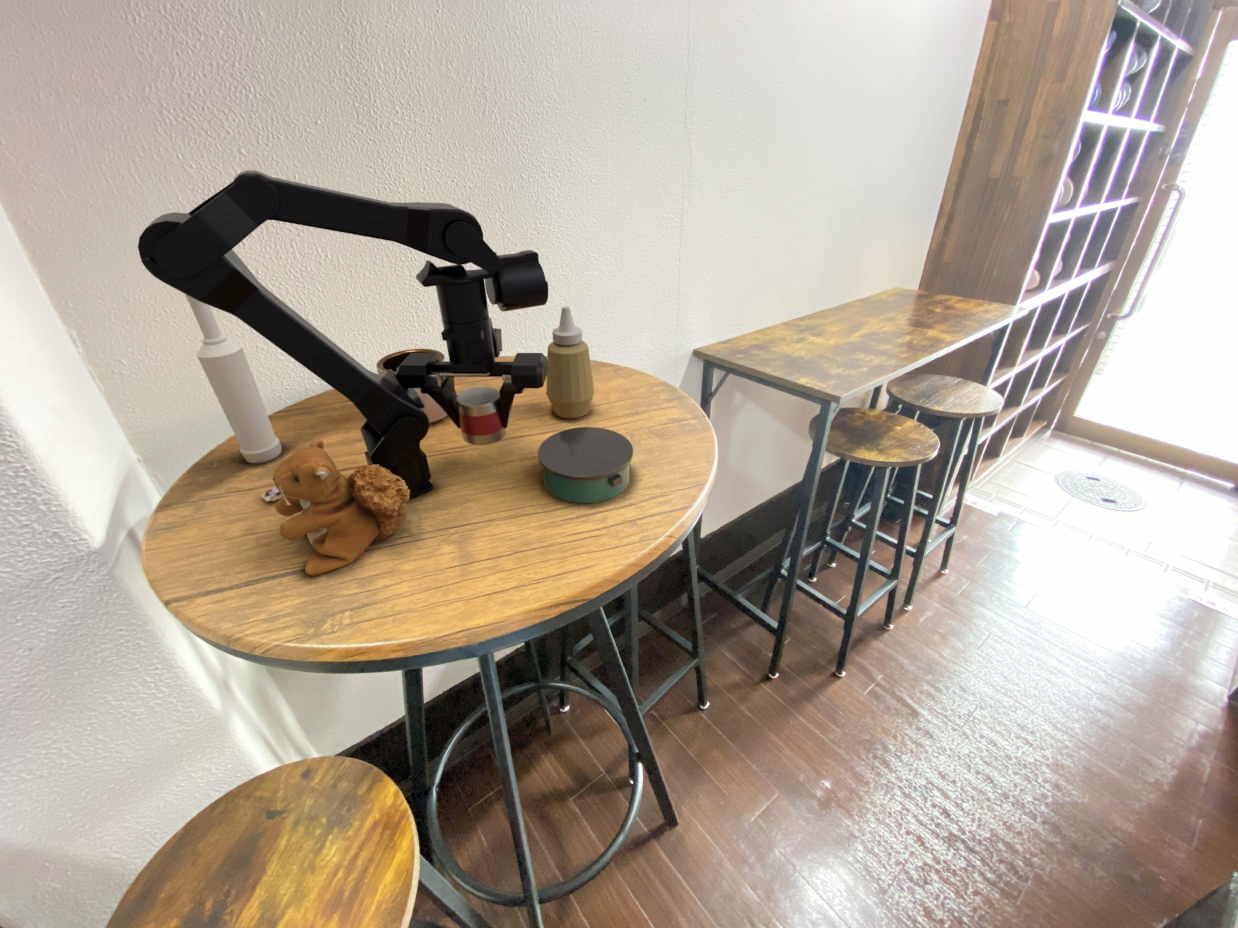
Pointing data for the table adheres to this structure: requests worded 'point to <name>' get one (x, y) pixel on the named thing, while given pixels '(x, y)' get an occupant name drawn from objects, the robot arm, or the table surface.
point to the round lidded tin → (585, 464)
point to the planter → (431, 406)
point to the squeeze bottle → (569, 370)
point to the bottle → (235, 388)
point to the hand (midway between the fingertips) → (483, 426)
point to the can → (480, 415)
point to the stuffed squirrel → (337, 506)
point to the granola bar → (272, 494)
